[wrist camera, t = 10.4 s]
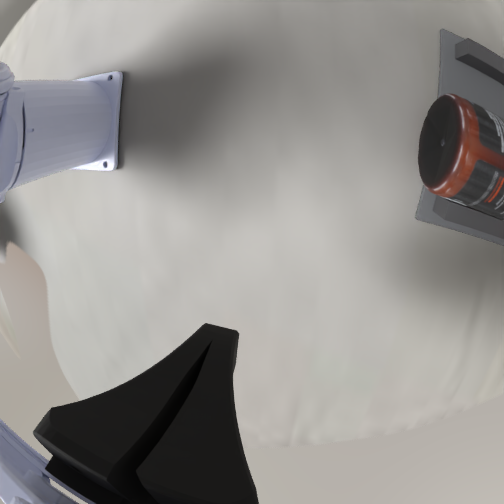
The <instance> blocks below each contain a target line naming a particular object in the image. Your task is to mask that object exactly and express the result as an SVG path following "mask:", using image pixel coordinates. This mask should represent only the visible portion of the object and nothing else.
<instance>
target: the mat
mask: <svg viewBox="0 0 504 504" xmlns="http://www.w3.org/2000/svg"><path fill="white" fill-rule="evenodd" d="M449 93H450V94H455V95H458V96H460V97H462V98H465V99H467V100H469V101H471V102H473V103H475V104H477V105H479V106H481V107H483V108H484V109H486V110H488V111H490V112H492V113H494V114H495V115H497V116H499V117H500V118H502V119H504V59H503V58H502V57H500V56H498V55H497V54H495V53H494V52H492V51H490V50H489V49H487V48H485V47H483V46H482V45H480V44H478V43H476V42H474V41H473V40H471V39H469V38H467V39H463V38H461V37H459V36H457V35H455V34H453V33H451V32H449V31H447V30H444V29H441V30H440V76H439V90H438V98H439V97H440V96H442V95H444V94H449ZM415 218H416V219H417V220H420V221H424V222H427V223H431V224H435V225H438V226H442V227H445V228H449V229H452V230H456V231H459V232H462V233H466V234H469V235H472V236H475V237H478V238H482V239H485V240H488V241H491V242H494V243H497V244H500V245H503V246H504V221H503V220H501V219H499V218H496V217H494V216H491V215H489V214H486V213H484V212H481V211H479V210H476V209H473V208H471V207H469V206H465V205H463V204H460V203H457V202H454V201H452V200H449V199H446V198H443V197H441V196H438V195H435V194H433V193H431V192H430V191H429V190H428V189H427V188H426V187H425V186H424V185H423V189H422V193H421V197H420V201H419V205H418V209H417V212H416V216H415Z"/></svg>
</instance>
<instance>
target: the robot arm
mask: <svg viewBox="0 0 504 504" xmlns="http://www.w3.org/2000/svg"><path fill="white" fill-rule="evenodd" d="M112 76H113V78H112V80H111V77H112ZM14 78H15V76H14V74H13V72H12V71H11V70H10V68H9V66H8V65H7V64H5V63H3V62H0V203H2V202H4V199H5V194H6V192H7V190H10V189H13V188H15V187H18V186H21V185H23V184H26V183H29V182H31V181H34V180H37V179H40V178H43V177H46V176H49V175H52V174H55V173H58V172H61V171H65V170H68V169H82V170H102V171H113V170H115V169H116V168H117V165H118V128H119V111H120V99H121V88H122V79H123V74H122V73H121V72H119V71H114V72H109V73H103V74H98V75H94V76H89V77H85V78H80V79H76V80H23V81H14ZM106 162H107V163H108V167H107V165H106ZM238 339H239V333H238V332H237V331H236V330H232V329H228V328H224V327H219V326H215V325H211V324H207V323H205V324H204V325H202V326H201V327H200V328H199V329H198V330H197V331H196V332H195V333H194V334H193V335H192V336H191V337H189V338H188V339H187V340H186V341H185V342H184V343H183V344H181V345H180V346H179V347H178V348H176V349H175V350H174V351H173V352H172V353H170V354H169V355H168V356H166V357H165V358H164V359H162V360H161V361H159V362H158V363H157V364H155V365H154V366H152V367H151V368H149V369H148V370H146V371H145V372H143V373H142V374H140V375H138V376H136V377H135V378H133V379H131V380H129V381H128V382H126V383H124V384H121V385H119V386H117V387H115V388H113V389H111V390H109V391H106V392H104V393H101V394H99V395H96V396H93V397H90V398H88V399H85V400H82V401H78V402H74V403H70V404H66V405H63V406H58V407H53V408H51V409H50V410H49V411H48V412H47V414H46V415H45V416H44V417H43V419H42V420H41V422H40V423H39V424H38V426H37V427H36V429H35V430H34V431H33V434H34V436H35V437H36V439H37V440H38V441H39V442H40V443H41V444H42V445H43V446H44V447H45V448H46V449H47V450H48V451H49V452H50V453H51V454H52V455H53V457H52V458H51V460H50V461H48V460H47V459H46V458H44V457H43V456H42V455H41V454H39V453H38V452H37V451H35V450H34V449H33V448H32V447H30V446H29V445H28V444H27V443H26V442H24V440H22V439H21V438H20V437H19V436H18V435H17V434H16V433H15V432H14V431H13V430H11V429H10V428H9V427H8V426H7V425H6V424H5V423H4V422H3V421H2V420H1V419H0V498H1V499H2V501H3V502H4V503H5V504H79V503H77V502H76V501H74V500H73V499H71V498H70V497H68V496H67V495H65V494H63V493H62V492H61V491H59V490H58V489H56V488H55V487H54V486H52V485H51V484H50V479H49V478H51V479H52V480H53V481H55V482H56V483H58V484H59V485H60V486H62V487H64V488H65V489H66V490H68V491H69V492H71V493H72V494H74V495H75V496H77V497H78V498H80V499H82V500H83V501H85V502H87V503H88V504H259V502H258V497H257V491H256V487H255V485H254V482H253V479H252V476H251V474H250V470H249V468H248V464H247V461H246V457H245V454H244V450H243V446H242V442H241V437H240V433H239V428H238V423H237V417H236V410H235V402H234V390H233V372H234V369H235V365H236V357H237V348H238Z"/></svg>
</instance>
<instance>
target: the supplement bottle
mask: <svg viewBox="0 0 504 504" xmlns="http://www.w3.org/2000/svg"><path fill="white" fill-rule="evenodd" d="M418 163H419V171H420V176H421V178H422V181H423V184H424V186H425V187H426V188H427V189H428V190H429V191H430V192H431V193H433V194H435V195H438V196H441V197H443V198H446V199H449V200H452V201H454V202H457V203H460V204H463V205H465V206H469V207H471V208H473V209H476V210H479V211H481V212H484V213H486V214H489V215H491V216H494V217H496V218H499V219H501V220H503V221H504V119H502V118H500V117H499V116H497V115H495V114H494V113H492V112H490V111H488V110H486V109H484V108H483V107H481V106H479V105H477V104H475V103H473V102H471V101H469V100H467V99H465V98H462V97H460V96H458V95H455V94H450V93H449V94H444V95H442V96H440V97H439V98H438V99H437V100H436V101H435V102H434V103H433V105H432V106H431V108H430V110H429V111H428V115H427V117H426V119H425V121H424V125H423V128H422V131H421V135H420V142H419V154H418Z"/></svg>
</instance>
